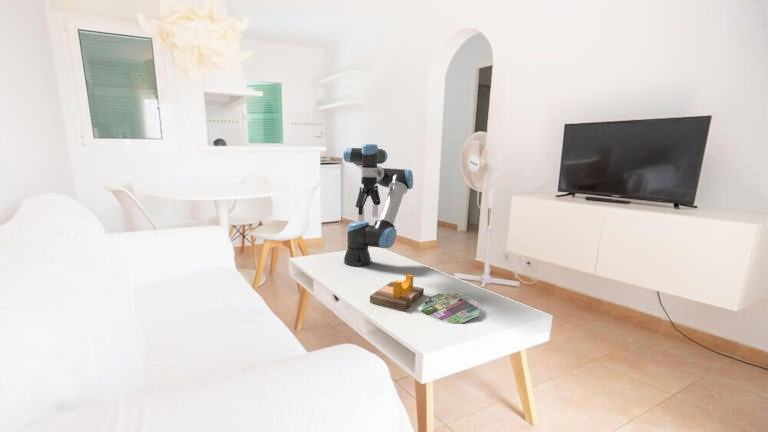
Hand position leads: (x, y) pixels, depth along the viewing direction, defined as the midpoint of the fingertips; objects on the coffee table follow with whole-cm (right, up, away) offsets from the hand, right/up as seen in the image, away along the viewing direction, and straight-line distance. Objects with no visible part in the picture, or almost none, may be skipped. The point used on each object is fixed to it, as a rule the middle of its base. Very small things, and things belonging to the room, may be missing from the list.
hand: (368, 219), depth 185 cm
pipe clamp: (+15, -31, -26) cm, 44 cm away
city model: (+34, -37, -35) cm, 61 cm away
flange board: (+14, -34, -25) cm, 44 cm away
